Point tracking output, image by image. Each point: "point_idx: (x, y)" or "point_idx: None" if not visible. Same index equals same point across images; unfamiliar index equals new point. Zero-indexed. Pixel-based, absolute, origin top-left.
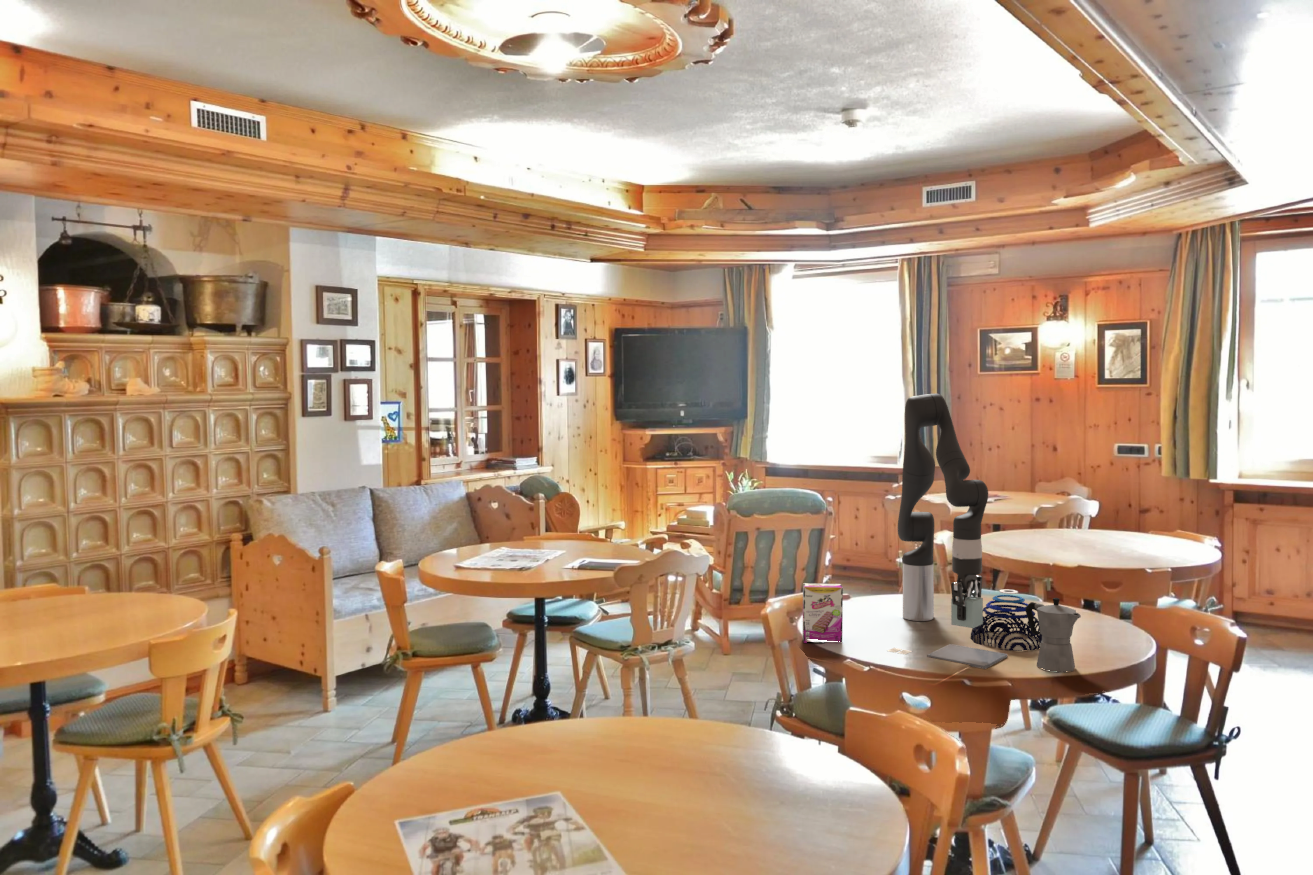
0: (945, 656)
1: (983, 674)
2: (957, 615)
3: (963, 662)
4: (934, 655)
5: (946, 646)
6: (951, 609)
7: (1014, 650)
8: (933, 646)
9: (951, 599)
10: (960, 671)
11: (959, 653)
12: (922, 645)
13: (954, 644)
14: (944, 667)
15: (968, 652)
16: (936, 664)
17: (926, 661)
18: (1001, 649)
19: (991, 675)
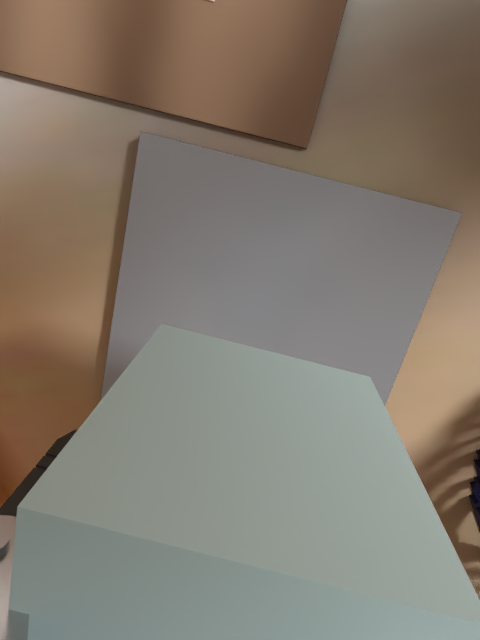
0: (157, 243)
1: (19, 437)
2: (52, 446)
3: (108, 346)
4: (147, 179)
5: (383, 203)
6: (107, 394)
7: (475, 514)
8: (423, 106)
9: (32, 493)
10: (2, 346)
11: (255, 303)
12: (425, 22)
13: (450, 240)
14: (20, 266)
15: (296, 343)
16: (47, 216)
17: (71, 150)
18: (475, 464)
19: (24, 465)
